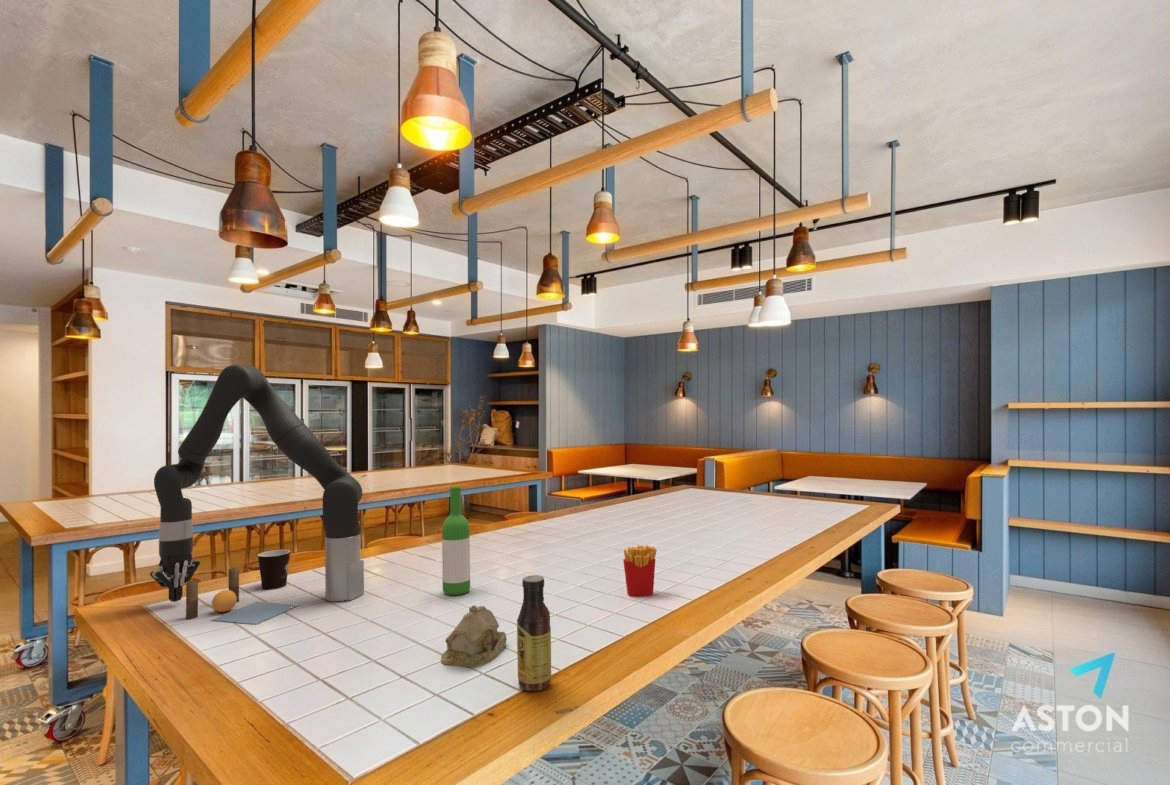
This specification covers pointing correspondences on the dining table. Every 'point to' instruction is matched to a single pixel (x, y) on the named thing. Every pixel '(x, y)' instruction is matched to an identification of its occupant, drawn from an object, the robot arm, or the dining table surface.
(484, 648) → the ceramic model
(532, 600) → the sauce bottle
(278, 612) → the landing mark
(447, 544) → the wine bottle
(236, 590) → the right post
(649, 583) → the french fries
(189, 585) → the left post
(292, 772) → the dining table surface
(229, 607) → the ball
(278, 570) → the coffee mug
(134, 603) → the dining table surface
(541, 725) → the dining table surface
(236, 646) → the dining table surface
